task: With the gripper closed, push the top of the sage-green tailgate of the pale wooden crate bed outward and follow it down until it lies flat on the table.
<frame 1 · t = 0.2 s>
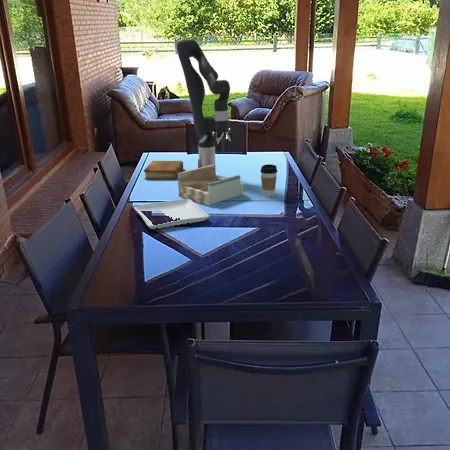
hand: (222, 149, 270), 17 cm above the table, tool pointing down, fingers open, 8 cm apart
tailgate: (224, 189, 242), point 5 cm above the table, hinge at 0.0°
diary: (164, 175, 291), on the table
crate bed: (212, 196, 250), on the table
coffee cup: (268, 195, 249), on the table
square plate: (170, 218, 222), on the table
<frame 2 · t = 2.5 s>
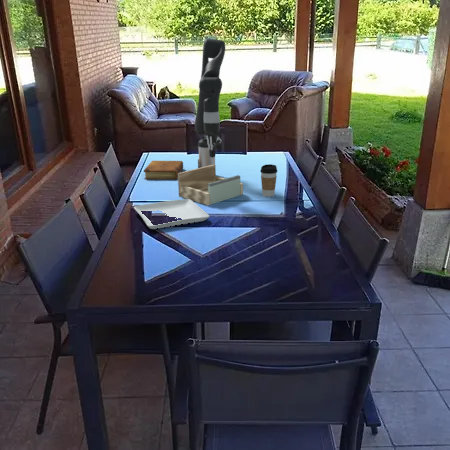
hand: (212, 157, 242), 20 cm above the table, tool pointing down, fingers closed
nothing on the table moved.
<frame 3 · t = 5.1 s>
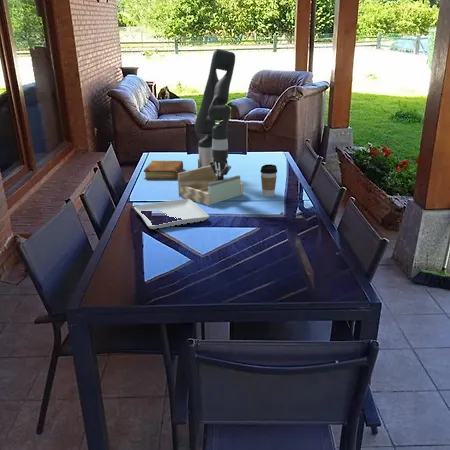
hand: (220, 182, 243), 8 cm above the table, tool pointing down, fingers closed
tailgate: (224, 189, 242), point 5 cm above the table, hinge at 0.0°, touching gripper
everything else where it was.
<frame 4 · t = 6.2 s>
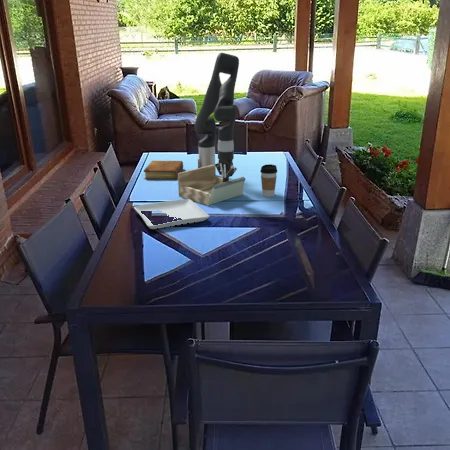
hand: (225, 184, 240), 8 cm above the table, tool pointing down, fingers closed
tailgate: (227, 190, 241), point 5 cm above the table, hinge at 20.8°, touching gripper
everything else where it was.
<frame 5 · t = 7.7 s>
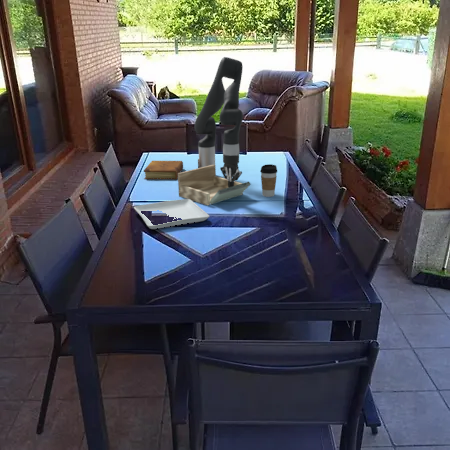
hand: (230, 188, 238), 7 cm above the table, tool pointing down, fingers closed
tailgate: (230, 192, 240), point 4 cm above the table, hinge at 44.5°, touching gripper
everything else where it was.
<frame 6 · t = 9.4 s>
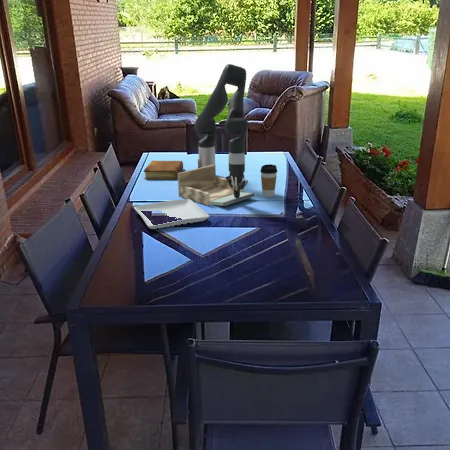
hand: (236, 197, 237), 3 cm above the table, tool pointing down, fingers closed
tailgate: (232, 198, 239), point 2 cm above the table, hinge at 80.6°, touching gripper
everything else where it was.
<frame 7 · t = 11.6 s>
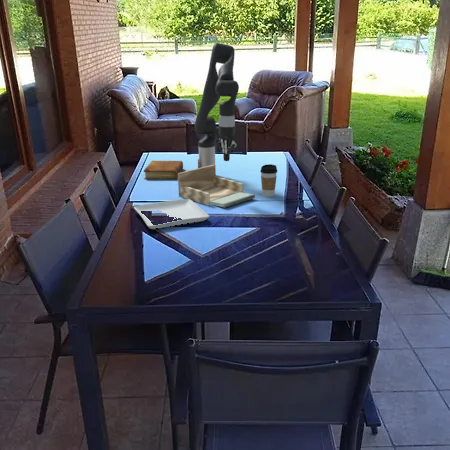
hand: (226, 160, 239), 19 cm above the table, tool pointing down, fingers closed
tailgate: (232, 199, 239), point 1 cm above the table, hinge at 85.1°
everything else where it was.
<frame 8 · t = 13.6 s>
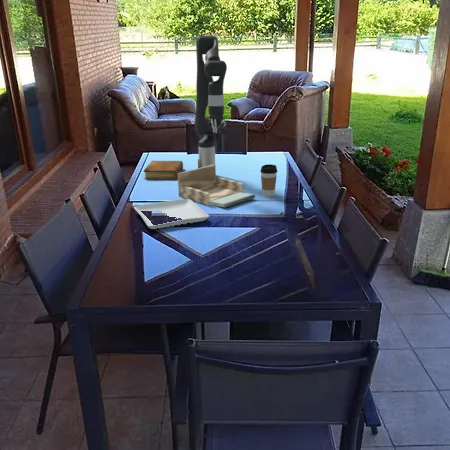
hand: (216, 140, 246), 27 cm above the table, tool pointing down, fingers closed
nothing on the table moved.
at the end: tailgate at +85° (first picture: +0°); coffee cup moved 0.2 cm from its start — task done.
